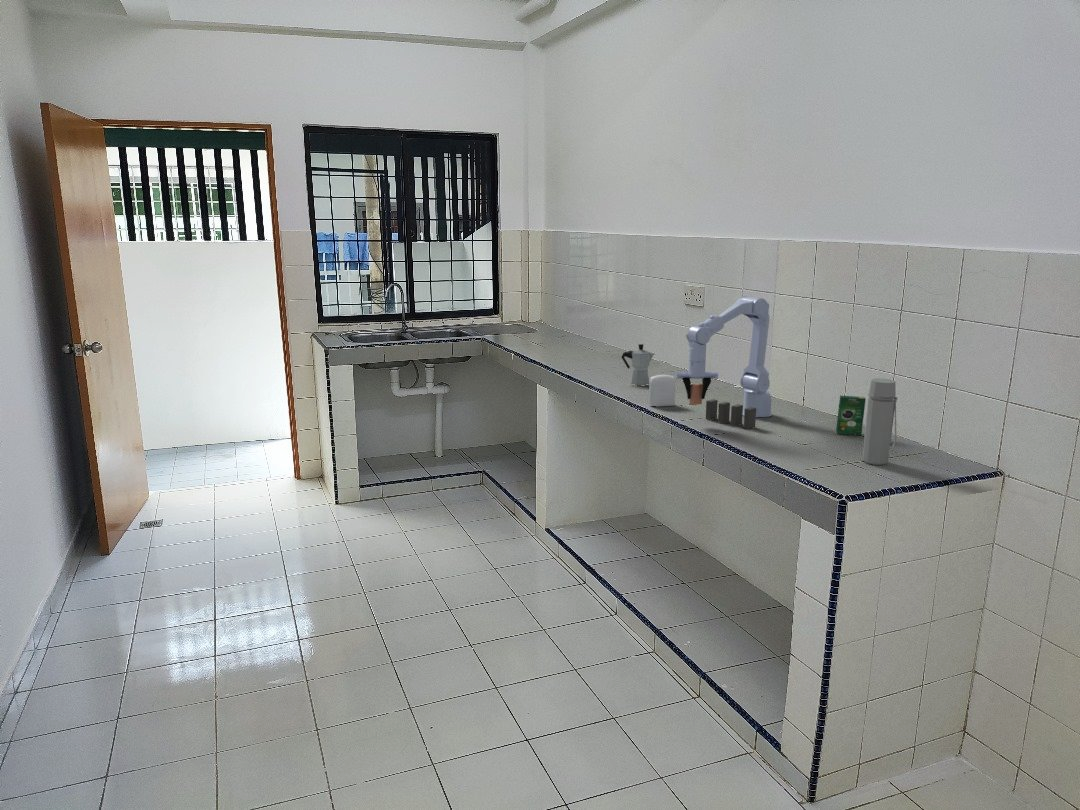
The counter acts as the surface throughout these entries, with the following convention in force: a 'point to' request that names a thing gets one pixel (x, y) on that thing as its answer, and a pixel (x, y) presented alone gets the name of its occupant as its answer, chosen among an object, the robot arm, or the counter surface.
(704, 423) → the counter surface
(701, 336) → the robot arm
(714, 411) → the domino
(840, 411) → the coffee box
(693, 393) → the terracotta domino
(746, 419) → the domino
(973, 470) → the counter surface
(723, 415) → the domino
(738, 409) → the domino
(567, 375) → the counter surface
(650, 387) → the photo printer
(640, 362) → the coffee maker
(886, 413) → the water bottle
